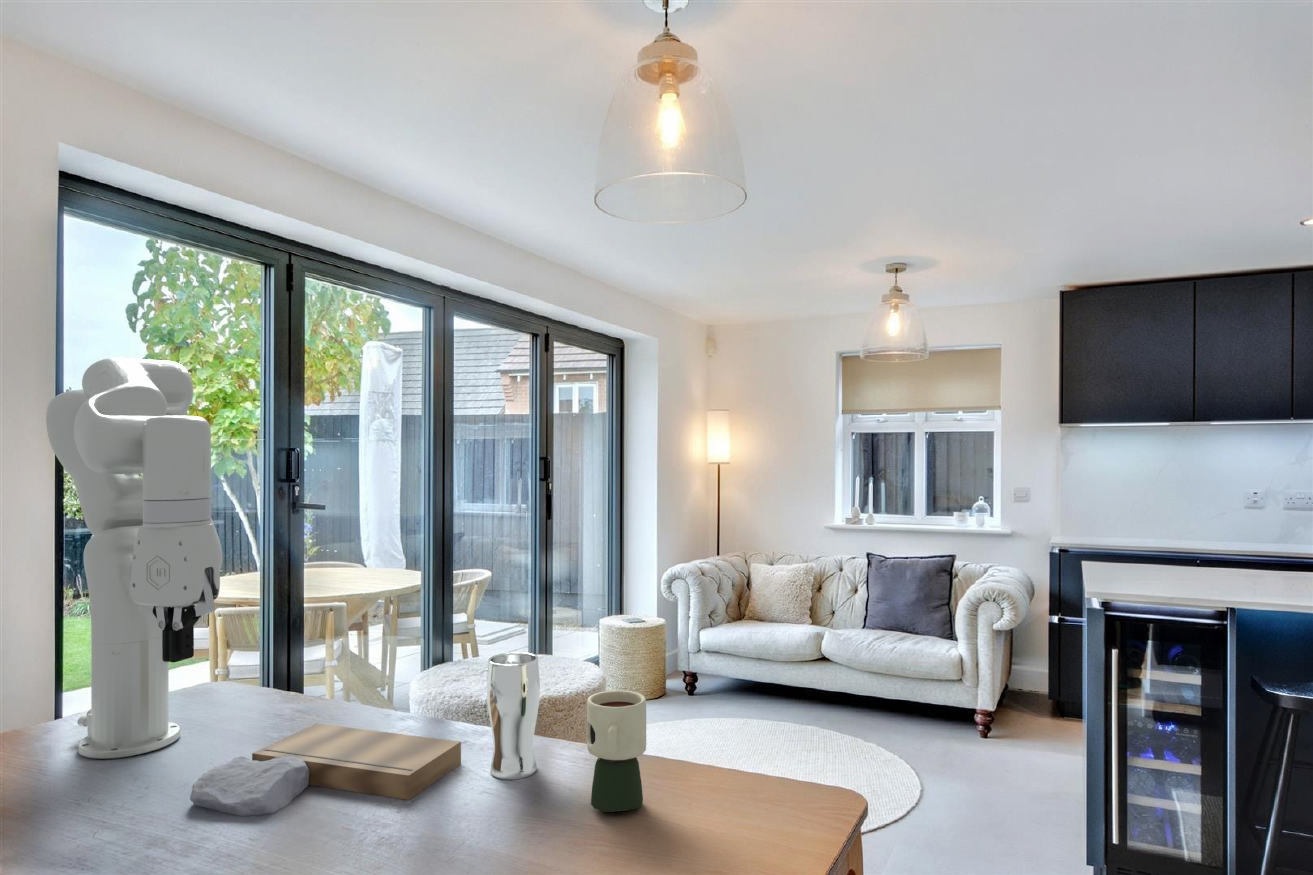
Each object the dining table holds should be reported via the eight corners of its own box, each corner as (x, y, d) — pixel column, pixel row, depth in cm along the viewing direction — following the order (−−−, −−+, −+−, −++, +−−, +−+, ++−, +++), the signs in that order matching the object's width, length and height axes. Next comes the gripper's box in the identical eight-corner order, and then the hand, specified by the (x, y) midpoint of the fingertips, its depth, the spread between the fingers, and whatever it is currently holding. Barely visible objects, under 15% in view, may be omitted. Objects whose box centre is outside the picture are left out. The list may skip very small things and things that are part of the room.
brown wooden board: (252, 775, 109) (252, 752, 109) (316, 744, 120) (316, 722, 120) (408, 799, 101) (408, 774, 101) (460, 763, 113) (460, 740, 113)
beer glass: (548, 764, 112) (548, 653, 113) (524, 784, 106) (524, 667, 106) (503, 757, 115) (503, 649, 115) (476, 777, 108) (476, 662, 108)
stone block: (273, 833, 97) (316, 782, 107) (267, 797, 96) (311, 748, 106) (179, 831, 98) (231, 781, 108) (172, 795, 98) (225, 747, 107)
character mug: (593, 787, 105) (593, 684, 105) (649, 788, 105) (649, 685, 105) (580, 827, 94) (580, 712, 94) (643, 828, 94) (642, 713, 94)
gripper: (105, 515, 103) (105, 663, 103) (198, 516, 98) (199, 671, 98) (158, 510, 110) (159, 648, 110) (248, 512, 106) (248, 656, 105)
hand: (178, 659), depth 104 cm, fingers closed
